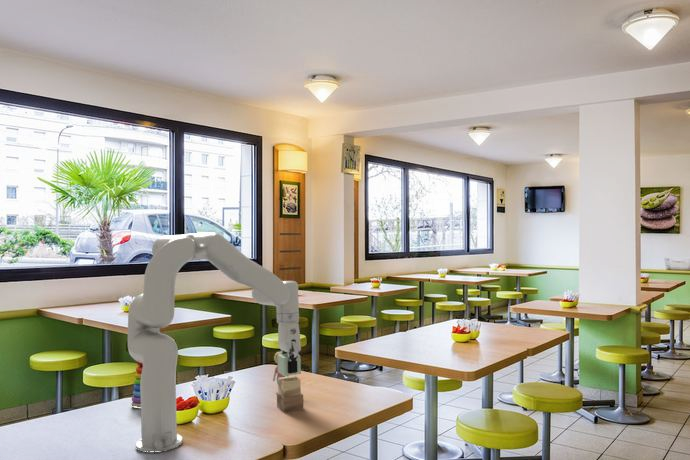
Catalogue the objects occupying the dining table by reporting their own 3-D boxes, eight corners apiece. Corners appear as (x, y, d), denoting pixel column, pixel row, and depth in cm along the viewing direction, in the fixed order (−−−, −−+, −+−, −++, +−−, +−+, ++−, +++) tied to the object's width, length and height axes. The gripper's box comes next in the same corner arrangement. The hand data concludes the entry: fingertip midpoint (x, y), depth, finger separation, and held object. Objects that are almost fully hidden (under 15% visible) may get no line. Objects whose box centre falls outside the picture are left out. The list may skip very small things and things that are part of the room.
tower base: (303, 409, 187) (303, 394, 187) (283, 413, 184) (283, 397, 184) (296, 404, 193) (295, 389, 193) (276, 407, 190) (276, 392, 190)
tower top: (300, 394, 187) (300, 379, 187) (283, 397, 184) (283, 382, 184) (294, 390, 192) (294, 375, 192) (278, 392, 190) (278, 377, 190)
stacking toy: (150, 409, 190) (149, 354, 190) (127, 410, 190) (126, 355, 190) (158, 402, 198) (157, 350, 198) (136, 403, 198) (135, 350, 198)
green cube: (300, 373, 187) (300, 355, 187) (284, 376, 184) (283, 358, 184) (294, 369, 192) (294, 352, 192) (278, 372, 190) (277, 354, 190)
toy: (291, 389, 210) (290, 350, 210) (288, 393, 205) (287, 353, 205) (274, 389, 210) (273, 350, 210) (271, 393, 206) (270, 353, 206)
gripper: (307, 319, 182) (309, 374, 182) (289, 313, 198) (290, 364, 198) (286, 321, 179) (287, 377, 179) (269, 315, 194) (270, 366, 194)
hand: (289, 370), depth 188 cm, fingers closed on green cube, 6 cm apart
